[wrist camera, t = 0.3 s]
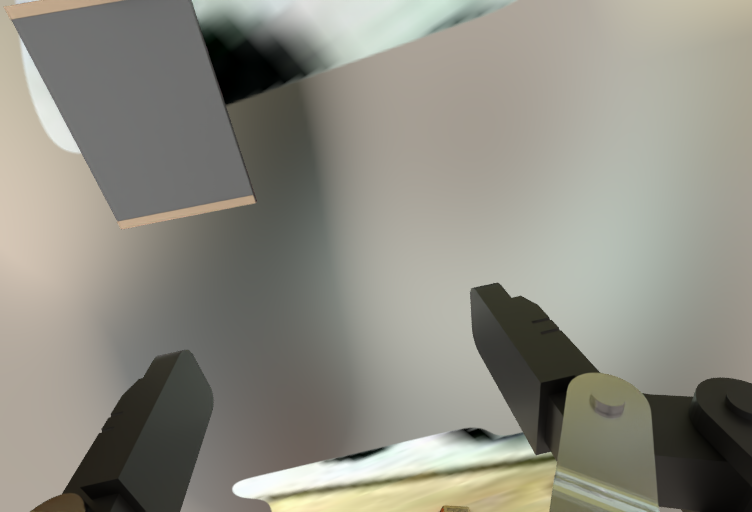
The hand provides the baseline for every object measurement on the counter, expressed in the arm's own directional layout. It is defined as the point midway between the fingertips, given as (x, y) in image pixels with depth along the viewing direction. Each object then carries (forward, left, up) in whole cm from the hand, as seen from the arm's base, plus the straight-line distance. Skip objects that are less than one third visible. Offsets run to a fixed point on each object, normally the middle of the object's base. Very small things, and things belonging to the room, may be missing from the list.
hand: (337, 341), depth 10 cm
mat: (-6, -14, -28) cm, 32 cm away
